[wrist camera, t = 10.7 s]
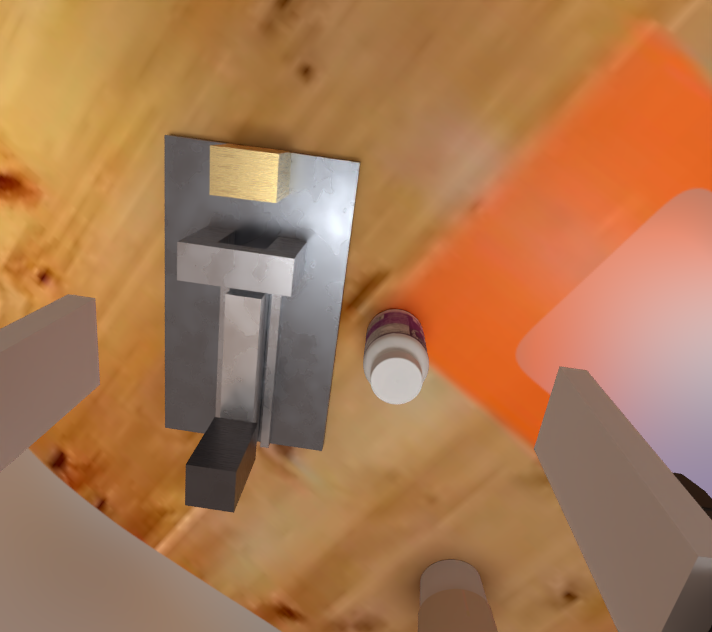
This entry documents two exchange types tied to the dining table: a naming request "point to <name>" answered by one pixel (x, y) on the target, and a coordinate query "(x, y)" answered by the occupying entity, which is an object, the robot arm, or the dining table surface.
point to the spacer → (249, 172)
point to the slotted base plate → (255, 288)
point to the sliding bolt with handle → (232, 408)
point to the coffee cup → (453, 599)
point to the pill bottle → (395, 356)
